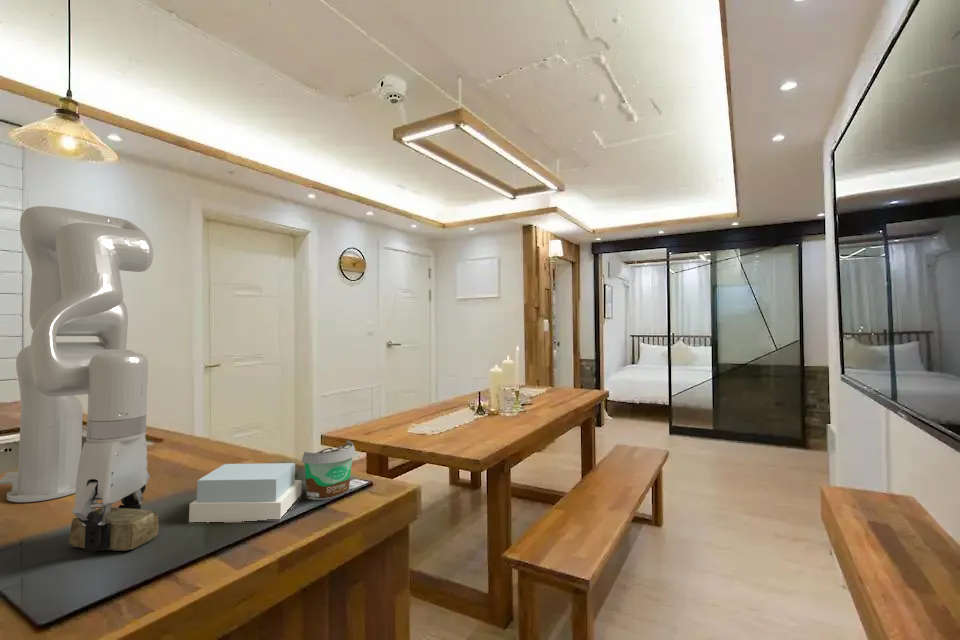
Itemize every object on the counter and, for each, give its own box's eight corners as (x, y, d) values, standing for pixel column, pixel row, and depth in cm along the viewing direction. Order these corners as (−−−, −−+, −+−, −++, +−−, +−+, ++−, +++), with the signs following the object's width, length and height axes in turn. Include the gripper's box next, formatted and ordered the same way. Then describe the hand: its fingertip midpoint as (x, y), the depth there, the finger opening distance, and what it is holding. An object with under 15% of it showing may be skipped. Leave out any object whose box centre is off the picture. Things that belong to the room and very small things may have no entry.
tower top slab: (196, 502, 81) (197, 480, 81) (224, 483, 91) (224, 463, 91) (275, 501, 82) (276, 479, 82) (294, 482, 92) (294, 463, 92)
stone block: (131, 554, 69) (132, 522, 69) (63, 551, 70) (64, 519, 70) (161, 537, 74) (162, 507, 74) (98, 534, 75) (99, 504, 75)
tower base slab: (188, 526, 80) (189, 504, 80) (222, 500, 92) (222, 481, 92) (280, 524, 81) (280, 502, 81) (301, 499, 93) (301, 480, 93)
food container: (320, 508, 87) (321, 457, 87) (300, 501, 91) (301, 452, 91) (367, 489, 98) (367, 443, 98) (347, 484, 101) (348, 439, 101)
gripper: (128, 417, 81) (125, 516, 80) (46, 442, 63) (41, 568, 63) (172, 417, 81) (169, 515, 81) (103, 441, 64) (99, 566, 64)
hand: (113, 537), depth 72 cm, fingers closed on stone block, 6 cm apart
